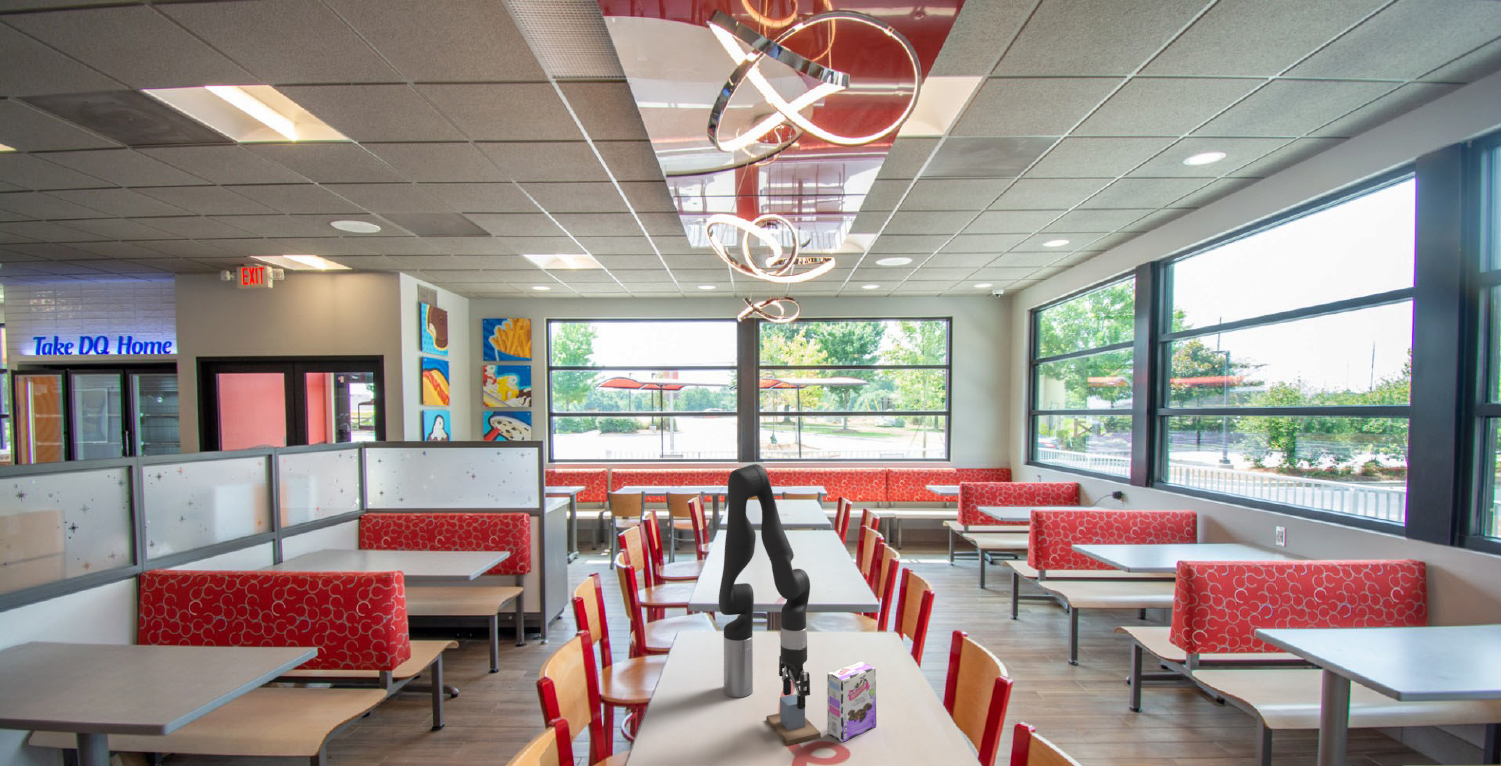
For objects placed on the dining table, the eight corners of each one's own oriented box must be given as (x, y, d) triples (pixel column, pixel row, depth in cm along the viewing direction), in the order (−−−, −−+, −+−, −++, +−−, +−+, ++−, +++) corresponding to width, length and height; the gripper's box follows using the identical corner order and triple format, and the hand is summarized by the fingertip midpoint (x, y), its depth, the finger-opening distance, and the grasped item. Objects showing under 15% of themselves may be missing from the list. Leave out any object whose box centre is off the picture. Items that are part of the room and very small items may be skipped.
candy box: (842, 743, 158) (841, 679, 159) (826, 733, 163) (826, 672, 164) (877, 726, 166) (876, 666, 167) (861, 718, 171) (860, 659, 172)
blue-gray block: (780, 721, 167) (780, 697, 167) (796, 717, 169) (796, 694, 169) (788, 730, 162) (788, 705, 163) (805, 726, 164) (804, 702, 165)
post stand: (766, 720, 170) (766, 696, 170) (797, 713, 174) (797, 689, 174) (787, 745, 157) (787, 719, 158) (820, 737, 161) (820, 712, 161)
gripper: (770, 635, 172) (771, 692, 172) (793, 654, 159) (793, 716, 158) (793, 631, 175) (794, 687, 175) (818, 650, 162) (818, 710, 161)
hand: (794, 701), depth 167 cm, fingers open, 8 cm apart
